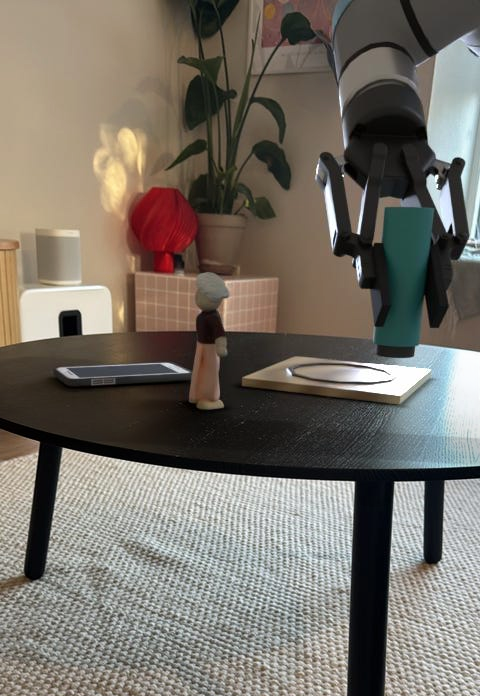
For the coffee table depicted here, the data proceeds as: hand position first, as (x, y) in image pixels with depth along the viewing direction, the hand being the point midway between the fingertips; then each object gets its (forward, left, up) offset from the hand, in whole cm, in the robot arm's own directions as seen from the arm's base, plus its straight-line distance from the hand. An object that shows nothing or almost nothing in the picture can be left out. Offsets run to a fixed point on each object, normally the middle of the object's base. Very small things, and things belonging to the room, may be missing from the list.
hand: (411, 316), depth 61 cm
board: (+12, -23, -10) cm, 28 cm away
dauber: (+2, -3, -4) cm, 5 cm away
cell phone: (+34, -10, -10) cm, 37 cm away
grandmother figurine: (+20, -3, -11) cm, 23 cm away
